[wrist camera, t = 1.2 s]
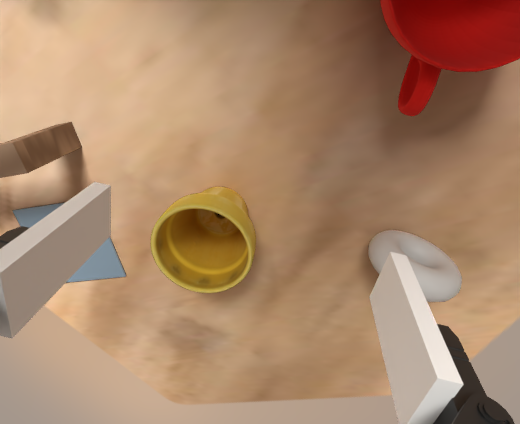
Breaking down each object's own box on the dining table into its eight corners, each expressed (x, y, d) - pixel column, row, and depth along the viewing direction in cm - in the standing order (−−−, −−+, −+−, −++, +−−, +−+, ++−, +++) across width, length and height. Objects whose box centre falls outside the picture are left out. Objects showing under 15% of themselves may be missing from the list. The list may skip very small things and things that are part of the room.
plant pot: (216, 152, 40) (192, 183, 32) (280, 211, 43) (274, 255, 34) (164, 209, 44) (129, 250, 36) (225, 260, 47) (207, 310, 38)
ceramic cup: (327, 82, 36) (335, 96, 27) (403, -133, 28) (449, -212, 19) (448, 120, 36) (495, 147, 27) (555, -82, 29) (669, -138, 20)
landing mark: (13, 210, 47) (12, 210, 47) (93, 198, 45) (92, 198, 45) (52, 283, 52) (51, 284, 52) (126, 275, 50) (125, 276, 50)
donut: (356, 238, 43) (370, 290, 34) (369, 214, 42) (386, 262, 33) (433, 264, 44) (465, 322, 35) (448, 241, 42) (487, 296, 33)
